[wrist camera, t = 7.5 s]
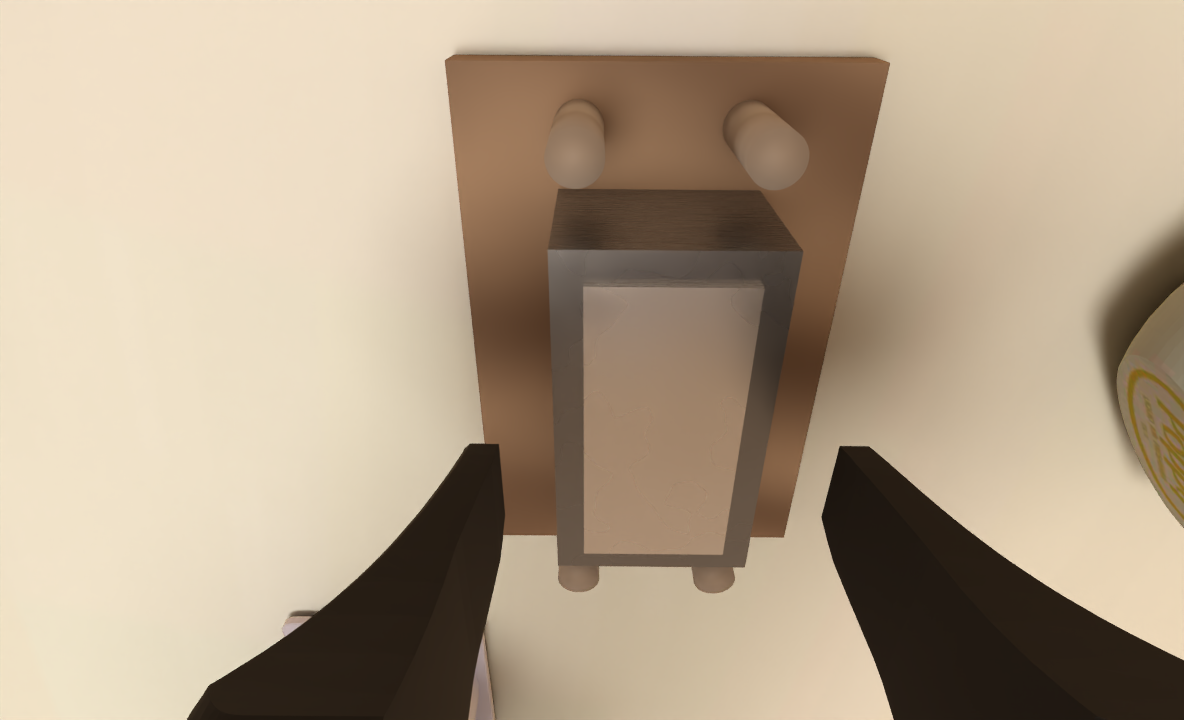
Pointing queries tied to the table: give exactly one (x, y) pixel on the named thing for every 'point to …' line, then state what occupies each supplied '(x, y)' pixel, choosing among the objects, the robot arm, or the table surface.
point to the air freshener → (1157, 399)
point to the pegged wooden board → (656, 162)
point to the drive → (664, 370)
